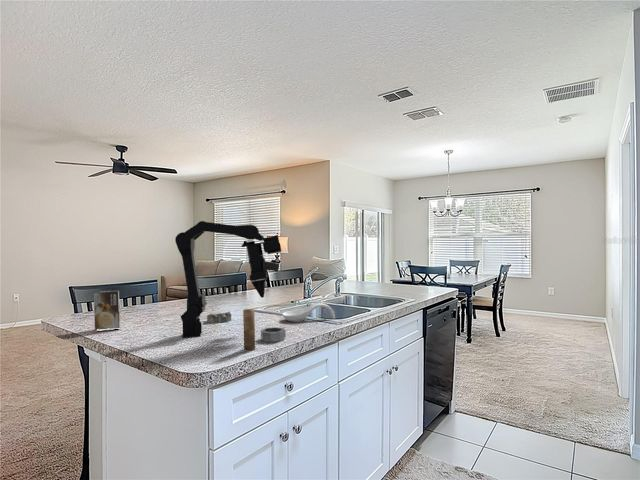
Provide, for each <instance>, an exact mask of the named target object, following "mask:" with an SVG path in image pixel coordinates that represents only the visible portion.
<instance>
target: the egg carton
mask: <svg viewBox="0 0 640 480" xmlns="http://www.w3.org/2000/svg"><path fill="white" fill-rule="evenodd" d="M206 321H207V323H208V324H214V323H223V322H226V323H229V322H232V313H231V312H230V311H228V312H219V313H209V314H206Z"/></svg>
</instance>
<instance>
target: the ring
mask: <svg viewBox="0 0 640 480" xmlns="http://www.w3.org/2000/svg"><path fill="white" fill-rule="evenodd" d="M286 334H287V333H286V329H285V328H284V327H278V326H277V327H276V326H273V327H265V328H262V329H260V338H261V341H262V342H265V343H278V342H282V341H285V339H286V337H287V336H286Z"/></svg>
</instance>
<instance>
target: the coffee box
mask: <svg viewBox="0 0 640 480" xmlns="http://www.w3.org/2000/svg"><path fill="white" fill-rule="evenodd" d="M93 307H94V308H93V310H94V311H93V312H94V315H93V316H94V331H95V330H97V329H107V328H120V329H121V312H120V290H119V289H115V290H100V291H95V292H94V293H93Z"/></svg>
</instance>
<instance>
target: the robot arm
mask: <svg viewBox="0 0 640 480" xmlns="http://www.w3.org/2000/svg"><path fill="white" fill-rule="evenodd" d="M205 232H207V233H216V234H218V233H219V234H225V235H234V236H237V237H240V238H244V239H247V240H250V241H247V240H244V241H243V243H242V245H241V247H242V248H245V247H246V250H247V256H248V264H249V268H250V275H249V280H250V283H251V284H252V285H253V287H254V288H255V291H256V292H257V293H258V295H259V297H260V298H265V292H266V289H265V287H266V282H267V280H268V276H269V275H268V274H269V272H268V271H273V272H277V273H278V272H279V269H280V263H278V262H277V260H276V259H271V260H270V261H266V259H265V258H264V253H266V254H267V255H272V254H277V253H281V252H282V247H281V246H282V245H281V243H280V239H279V235H277V234H276V235H273V236H269V237H264V235H262V234H261V233H260V230H259V228H258V227H257V226H255V224H241V225H240V224H239V225H232V224H224V223H216V222H209V221H205V220H201V221H198V222H197V223H196V224H195V225H193V226H192V227H190V228H188V229H187V230H186V231H184V232H179V233H178V234H177V235H176V236H175V244H176V247H177V249H178V252H179V253H180V255H181V258H182V265H183V270H184V276H185V282H186V288H187V297H186V298H187V299H186V310H185V311H184V313H182V314H181V315H180V319H181V322H182V334H181V335H182V338H184V339H186V338H193V337H202V336H201V334H202V333H203V330H202V327H203V326H202V321H201V318H200V316H201V314H203V312H204V311H205V310H206V305H207V304H208V302H207V301H206V294H205V293H204V294H202V293H201V291H200V288H199V287H200V286H199V279H198V273H197V269H196V264H195V262H196V261H195V256H194V255H195V254H194V253H195V245H196V244H195V243H196V242H195V241H196V240H197V239H199V238H200V237H201V236H202V235H203V234H204V233H205ZM252 240H253V241H252ZM255 240H256V241H260V242H256V241H255ZM261 241H262V242H261ZM262 247H263V248H262Z"/></svg>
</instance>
